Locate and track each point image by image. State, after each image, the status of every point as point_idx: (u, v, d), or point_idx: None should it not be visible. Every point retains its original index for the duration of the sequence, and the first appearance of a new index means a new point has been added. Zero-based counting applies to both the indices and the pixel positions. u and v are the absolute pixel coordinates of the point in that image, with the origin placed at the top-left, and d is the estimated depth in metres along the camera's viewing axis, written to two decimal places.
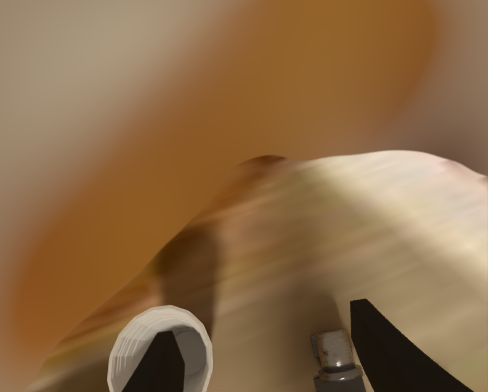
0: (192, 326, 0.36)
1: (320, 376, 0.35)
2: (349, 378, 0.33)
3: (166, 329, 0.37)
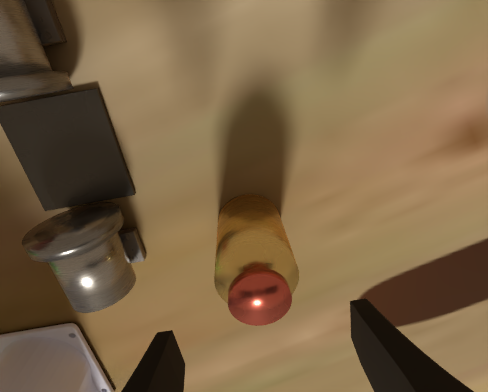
0: None
1: None
2: None
3: None
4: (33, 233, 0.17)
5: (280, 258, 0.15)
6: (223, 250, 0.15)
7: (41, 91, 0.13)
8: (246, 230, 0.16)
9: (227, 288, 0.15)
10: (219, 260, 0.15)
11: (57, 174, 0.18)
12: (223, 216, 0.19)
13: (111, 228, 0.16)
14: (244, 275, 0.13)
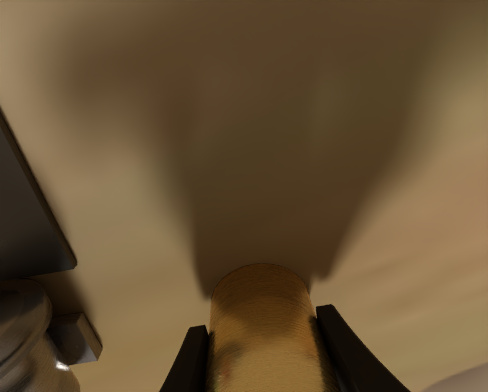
0: None
1: None
2: None
3: None
4: None
5: None
6: None
7: None
8: (260, 369, 0.08)
9: None
10: None
11: None
12: (219, 306, 0.11)
13: (13, 352, 0.09)
14: None
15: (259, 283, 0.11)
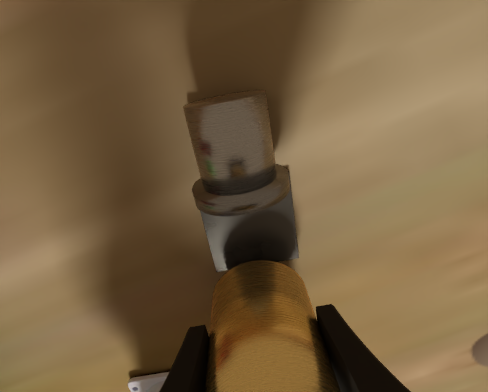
0: None
1: (194, 197, 0.15)
2: (252, 209, 0.14)
3: None
4: None
5: None
6: None
7: (285, 194, 0.15)
8: (252, 360, 0.09)
9: None
10: None
11: (235, 242, 0.20)
12: (217, 305, 0.12)
13: None
14: None
15: (253, 279, 0.12)
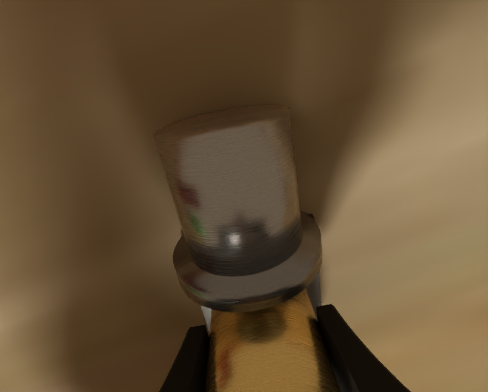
0: None
1: None
2: (267, 303, 0.08)
3: None
4: None
5: None
6: None
7: (318, 269, 0.09)
8: (252, 360, 0.09)
9: None
10: None
11: None
12: None
13: None
14: None
15: None
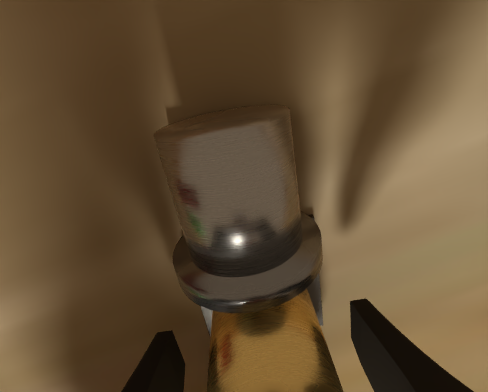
0: None
1: None
2: (267, 304, 0.08)
3: None
4: None
5: None
6: (216, 381, 0.09)
7: (318, 270, 0.09)
8: (252, 340, 0.09)
9: None
10: None
11: None
12: None
13: None
14: None
15: None
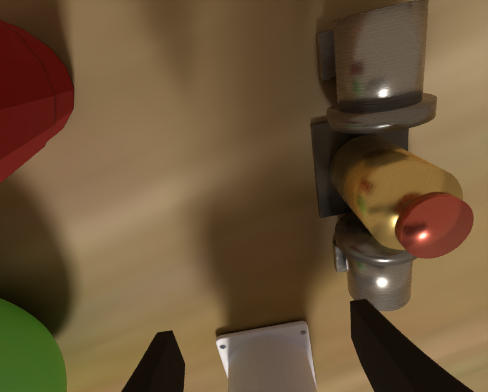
0: None
1: (334, 121, 0.15)
2: (412, 123, 0.13)
3: None
4: (347, 239, 0.18)
5: (444, 184, 0.13)
6: (375, 183, 0.14)
7: (435, 113, 0.14)
8: (395, 160, 0.14)
9: (381, 225, 0.14)
10: (374, 193, 0.14)
11: None
12: (344, 159, 0.17)
13: None
14: (420, 200, 0.12)
15: (370, 140, 0.17)
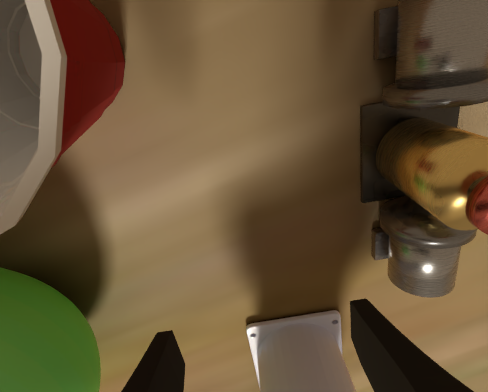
0: None
1: (396, 98, 0.15)
2: (483, 98, 0.13)
3: None
4: (396, 223, 0.18)
5: None
6: (442, 159, 0.14)
7: None
8: (462, 137, 0.14)
9: (446, 203, 0.14)
10: (443, 169, 0.13)
11: None
12: (397, 140, 0.17)
13: None
14: None
15: (424, 122, 0.17)
